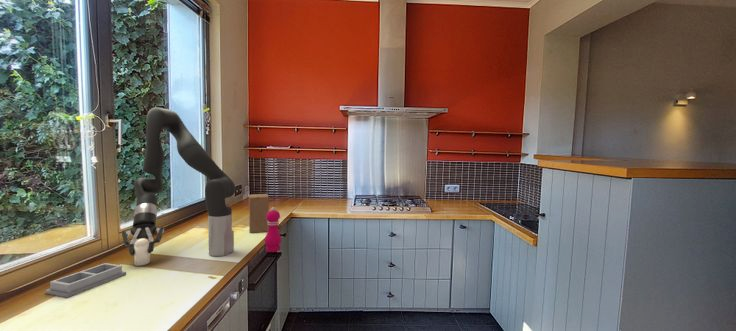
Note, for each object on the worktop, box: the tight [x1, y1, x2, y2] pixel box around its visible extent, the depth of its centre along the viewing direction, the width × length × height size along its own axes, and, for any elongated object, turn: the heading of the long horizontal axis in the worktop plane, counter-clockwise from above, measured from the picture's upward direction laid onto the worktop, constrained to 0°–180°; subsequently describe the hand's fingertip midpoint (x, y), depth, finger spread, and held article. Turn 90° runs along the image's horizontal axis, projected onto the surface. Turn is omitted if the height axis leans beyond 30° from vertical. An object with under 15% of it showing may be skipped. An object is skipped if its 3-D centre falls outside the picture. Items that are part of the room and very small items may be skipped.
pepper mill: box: [264, 206, 282, 253], centre depth 129 cm, size 7×7×20 cm
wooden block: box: [248, 193, 270, 234], centre depth 159 cm, size 10×10×20 cm
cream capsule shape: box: [133, 238, 151, 267], centre depth 111 cm, size 5×5×10 cm
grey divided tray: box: [45, 262, 127, 299], centre depth 95 cm, size 10×17×4 cm, turn 166°
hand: (141, 253), depth 109 cm, fingers closed on cream capsule shape, 4 cm apart
